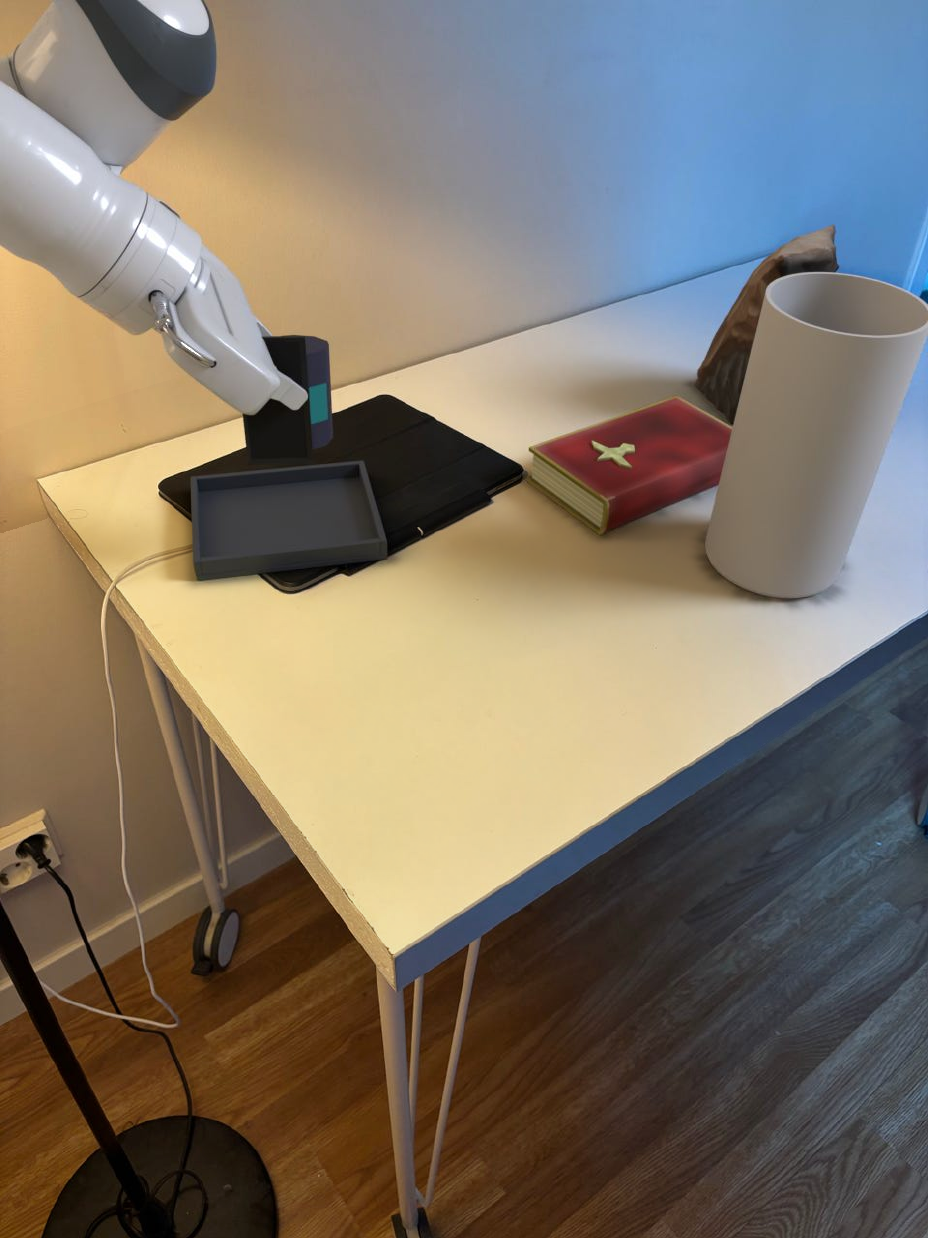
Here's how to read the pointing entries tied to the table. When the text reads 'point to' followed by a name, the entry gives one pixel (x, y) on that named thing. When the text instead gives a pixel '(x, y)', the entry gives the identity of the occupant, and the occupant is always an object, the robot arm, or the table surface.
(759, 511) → the cylinder vase
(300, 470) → the shallow rimmed tray
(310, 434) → the speaker
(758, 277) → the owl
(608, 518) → the hardcover book
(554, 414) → the table surface
